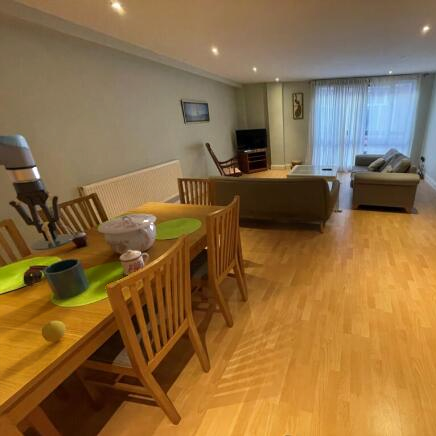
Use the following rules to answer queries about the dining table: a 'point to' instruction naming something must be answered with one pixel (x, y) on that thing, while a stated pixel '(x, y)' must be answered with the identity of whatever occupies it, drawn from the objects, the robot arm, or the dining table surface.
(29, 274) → the pottery mug
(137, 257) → the teacup with lid
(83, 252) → the dining table surface
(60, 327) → the lemon
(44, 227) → the pot lid
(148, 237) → the chamber pot
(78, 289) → the blue cylindrical pot
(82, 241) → the mate gourd
